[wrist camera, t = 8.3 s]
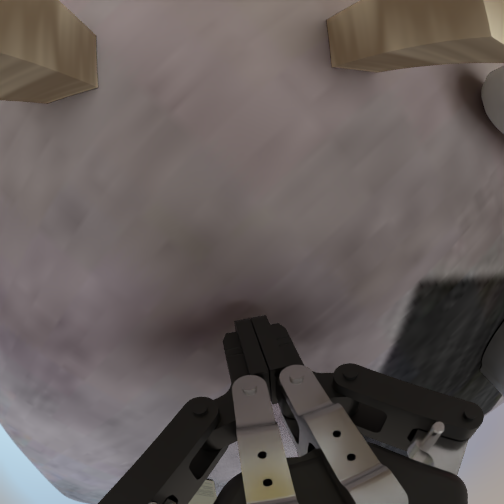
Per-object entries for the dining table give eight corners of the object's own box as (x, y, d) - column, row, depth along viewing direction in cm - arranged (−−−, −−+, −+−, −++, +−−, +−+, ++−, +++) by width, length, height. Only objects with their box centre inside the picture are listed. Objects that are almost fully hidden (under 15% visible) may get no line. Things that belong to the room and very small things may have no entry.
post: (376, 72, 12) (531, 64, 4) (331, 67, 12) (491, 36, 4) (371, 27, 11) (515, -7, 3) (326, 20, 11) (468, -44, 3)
